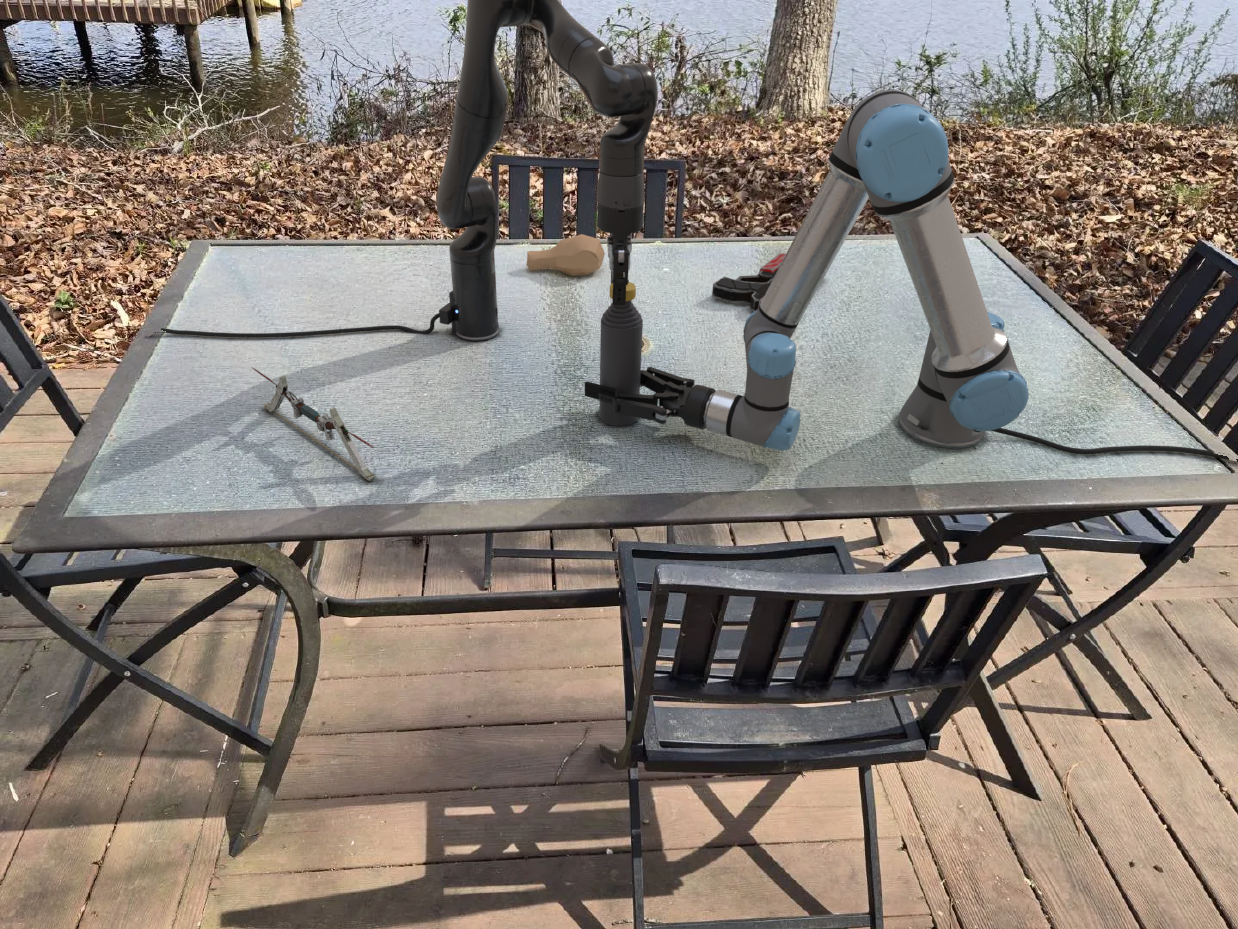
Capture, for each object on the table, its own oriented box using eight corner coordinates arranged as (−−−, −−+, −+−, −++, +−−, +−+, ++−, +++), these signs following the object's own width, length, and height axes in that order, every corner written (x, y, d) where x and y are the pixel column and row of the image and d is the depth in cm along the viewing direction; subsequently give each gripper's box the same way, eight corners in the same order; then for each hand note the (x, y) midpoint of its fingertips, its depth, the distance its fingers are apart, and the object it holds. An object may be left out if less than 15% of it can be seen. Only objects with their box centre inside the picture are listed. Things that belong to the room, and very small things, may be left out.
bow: (385, 483, 144) (378, 432, 138) (376, 488, 143) (368, 436, 137) (265, 401, 165) (254, 353, 160) (256, 404, 164) (245, 356, 158)
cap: (640, 295, 152) (640, 284, 151) (627, 303, 148) (627, 293, 147) (617, 289, 154) (618, 279, 152) (604, 297, 150) (604, 287, 149)
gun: (708, 284, 207) (784, 305, 199) (760, 245, 229) (831, 262, 221) (706, 302, 209) (781, 323, 201) (758, 261, 231) (828, 278, 223)
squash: (606, 279, 220) (601, 247, 214) (527, 286, 222) (521, 255, 215) (606, 257, 228) (602, 226, 222) (531, 264, 229) (524, 233, 223)
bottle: (592, 411, 166) (594, 285, 152) (627, 403, 168) (631, 278, 154) (610, 429, 160) (613, 300, 146) (645, 421, 163) (651, 294, 149)
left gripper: (596, 185, 147) (595, 279, 156) (598, 213, 135) (597, 312, 144) (641, 186, 147) (637, 279, 156) (647, 213, 135) (642, 313, 144)
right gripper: (686, 455, 149) (569, 421, 157) (729, 403, 164) (620, 374, 172) (689, 417, 144) (568, 384, 153) (733, 367, 160) (621, 340, 168)
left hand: (617, 295), depth 150 cm, fingers open, 7 cm apart
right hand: (596, 379), depth 162 cm, fingers closed on bottle, 7 cm apart
